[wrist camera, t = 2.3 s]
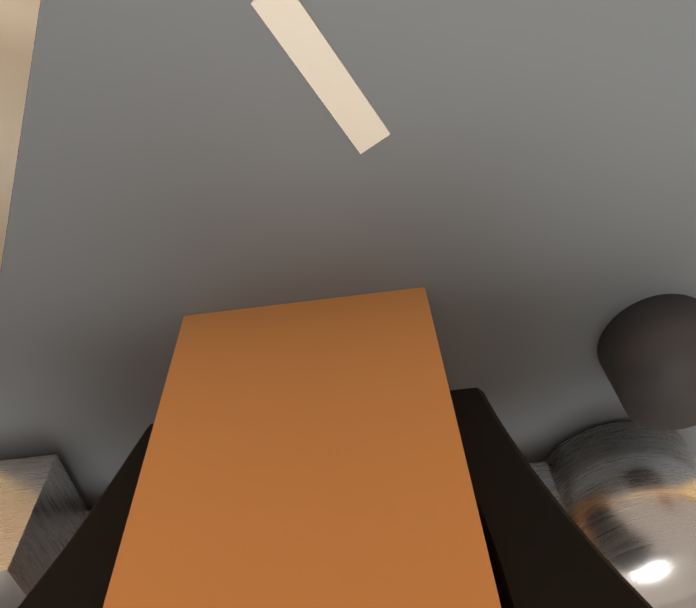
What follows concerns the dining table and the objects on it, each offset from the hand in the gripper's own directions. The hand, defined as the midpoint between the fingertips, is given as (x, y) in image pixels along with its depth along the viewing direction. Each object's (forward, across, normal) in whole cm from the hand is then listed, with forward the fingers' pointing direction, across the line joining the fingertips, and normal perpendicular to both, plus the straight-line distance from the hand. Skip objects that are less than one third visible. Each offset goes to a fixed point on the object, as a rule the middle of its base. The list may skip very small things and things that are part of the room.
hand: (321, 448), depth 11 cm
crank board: (+3, -2, 0) cm, 3 cm away
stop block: (+1, 0, 0) cm, 1 cm away
